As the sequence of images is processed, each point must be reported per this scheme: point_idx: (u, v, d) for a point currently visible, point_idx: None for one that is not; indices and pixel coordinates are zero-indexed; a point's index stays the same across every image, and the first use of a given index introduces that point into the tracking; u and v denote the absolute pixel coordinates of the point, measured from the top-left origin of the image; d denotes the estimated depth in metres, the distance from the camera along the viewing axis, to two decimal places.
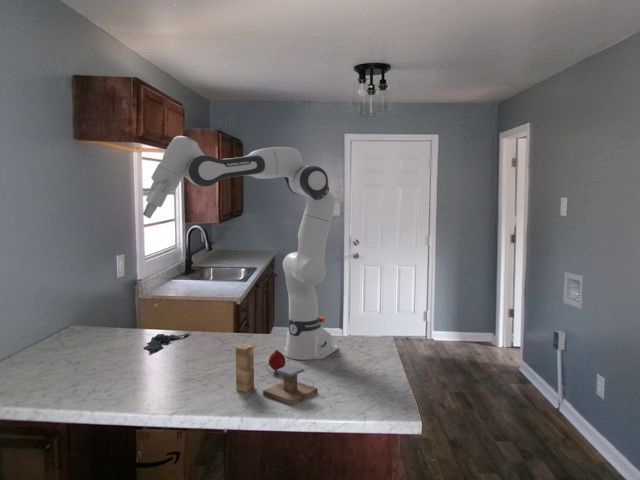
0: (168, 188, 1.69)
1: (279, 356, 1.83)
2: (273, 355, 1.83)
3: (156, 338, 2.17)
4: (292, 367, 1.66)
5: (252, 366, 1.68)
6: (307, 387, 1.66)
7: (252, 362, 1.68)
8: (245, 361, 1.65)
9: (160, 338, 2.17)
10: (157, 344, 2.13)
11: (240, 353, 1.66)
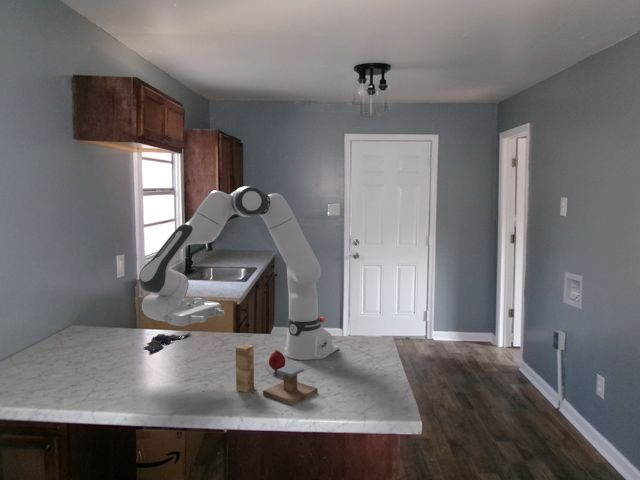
0: (168, 314, 1.70)
1: (279, 356, 1.83)
2: (273, 355, 1.83)
3: (157, 338, 2.17)
4: (292, 367, 1.66)
5: (252, 366, 1.68)
6: (307, 387, 1.66)
7: (252, 362, 1.68)
8: (245, 361, 1.65)
9: (160, 338, 2.16)
10: (157, 344, 2.13)
11: (240, 353, 1.66)
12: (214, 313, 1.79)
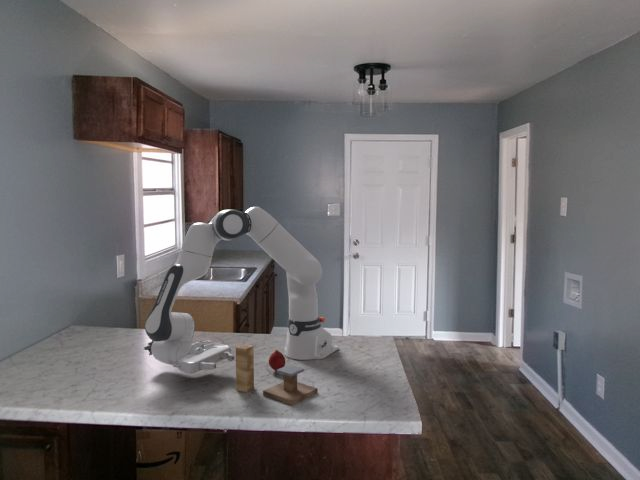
0: (178, 361, 1.70)
1: (279, 356, 1.83)
2: (273, 355, 1.83)
3: None
4: (292, 367, 1.66)
5: (252, 366, 1.68)
6: (307, 387, 1.66)
7: (252, 362, 1.68)
8: (245, 361, 1.65)
9: None
10: None
11: (240, 353, 1.66)
12: (224, 357, 1.79)
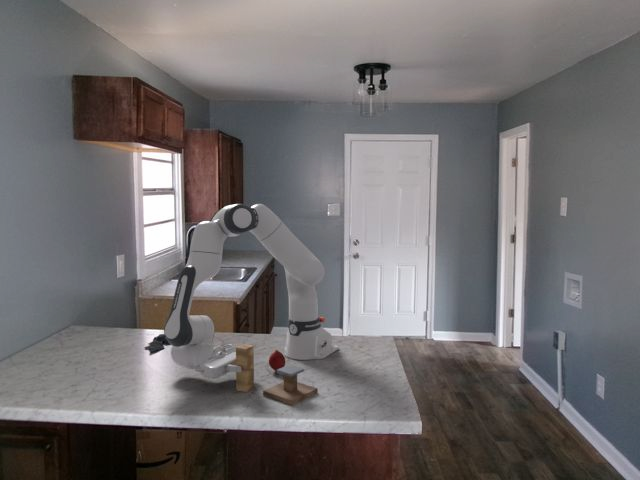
0: (200, 365, 1.65)
1: (279, 356, 1.83)
2: (273, 355, 1.83)
3: (158, 338, 2.16)
4: (292, 367, 1.66)
5: (252, 366, 1.68)
6: (307, 387, 1.66)
7: (252, 362, 1.68)
8: (245, 361, 1.65)
9: (162, 338, 2.16)
10: (158, 344, 2.13)
11: (240, 353, 1.66)
12: None
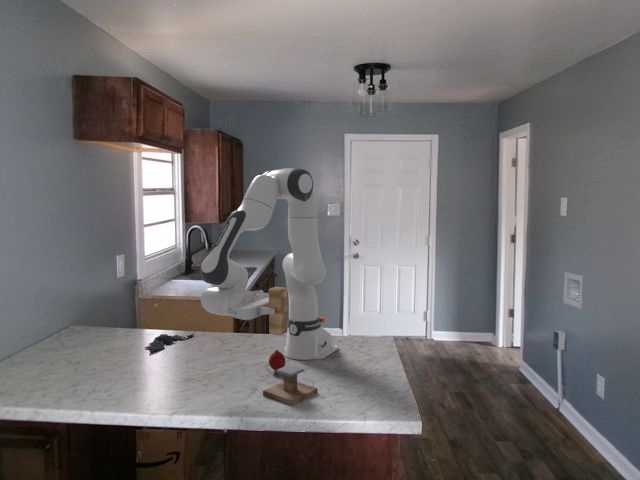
0: (232, 308, 1.60)
1: (279, 356, 1.83)
2: (273, 355, 1.83)
3: (159, 338, 2.16)
4: (292, 367, 1.66)
5: (285, 309, 1.63)
6: (307, 387, 1.66)
7: (285, 305, 1.63)
8: (278, 303, 1.60)
9: (163, 338, 2.16)
10: (159, 344, 2.13)
11: (273, 295, 1.61)
12: None
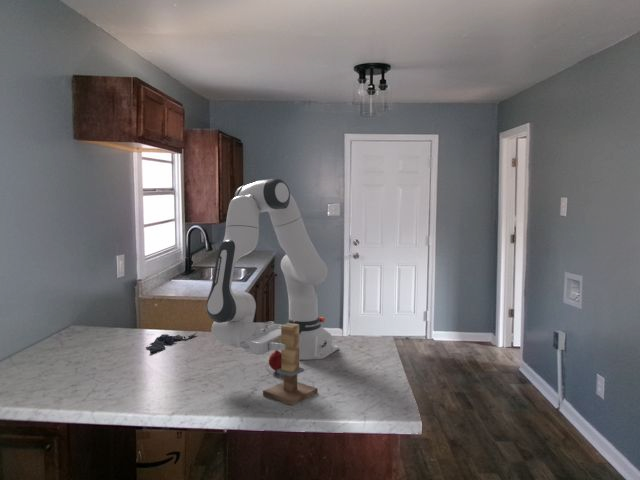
0: (245, 341, 1.60)
1: (279, 356, 1.83)
2: (273, 355, 1.83)
3: (160, 338, 2.16)
4: None
5: (297, 345, 1.63)
6: (307, 387, 1.66)
7: (298, 341, 1.63)
8: (291, 340, 1.61)
9: (164, 338, 2.16)
10: (160, 344, 2.13)
11: (286, 332, 1.61)
12: None
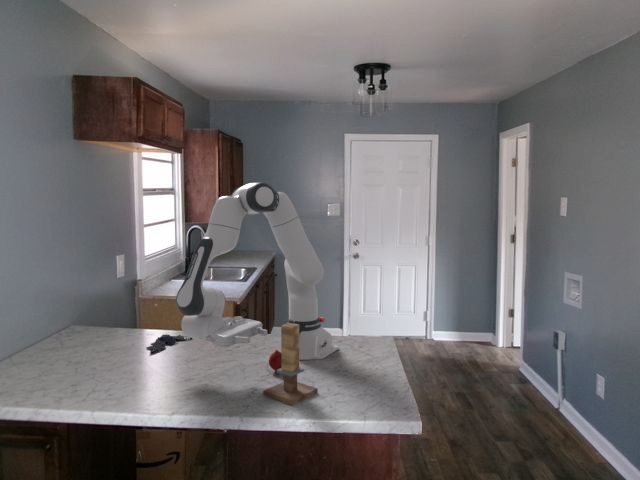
0: (211, 335, 1.66)
1: (279, 356, 1.83)
2: (273, 355, 1.83)
3: (161, 338, 2.16)
4: None
5: (297, 345, 1.63)
6: (307, 387, 1.66)
7: (298, 341, 1.63)
8: (291, 340, 1.61)
9: (165, 339, 2.16)
10: (161, 345, 2.13)
11: (286, 332, 1.61)
12: (256, 332, 1.76)
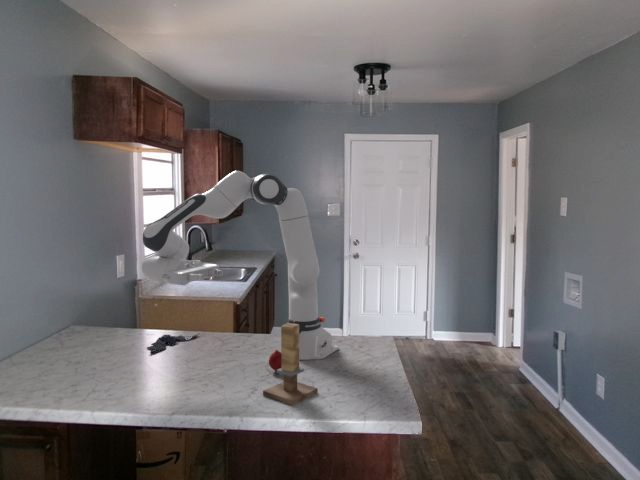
0: (166, 273, 1.72)
1: (279, 356, 1.83)
2: (273, 355, 1.83)
3: (162, 339, 2.16)
4: None
5: (297, 345, 1.63)
6: (307, 387, 1.66)
7: (298, 341, 1.63)
8: (291, 340, 1.61)
9: (165, 339, 2.15)
10: (161, 345, 2.12)
11: (286, 332, 1.61)
12: (212, 273, 1.81)
